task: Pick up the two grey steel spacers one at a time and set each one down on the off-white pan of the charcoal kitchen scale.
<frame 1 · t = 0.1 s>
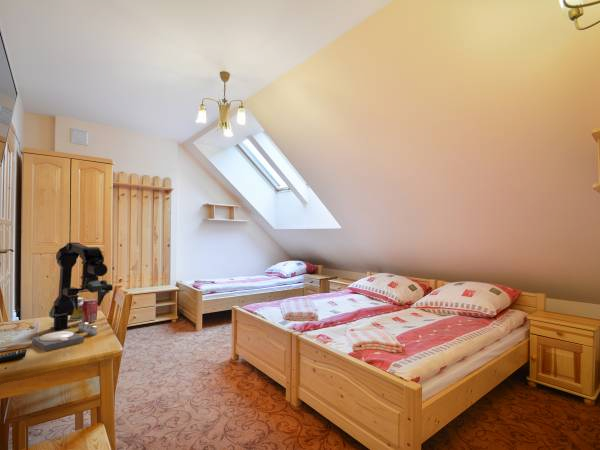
hand: (87, 308, 143), 15 cm above the table, tool pointing down, fingers open, 9 cm apart
pill bottle: (76, 319, 175), on the table
scale: (58, 342, 138), on the table
steel spacer 2: (91, 334, 150), on the table
steel spacer 1: (83, 331, 155), on the table
soda can: (89, 321, 171), on the table
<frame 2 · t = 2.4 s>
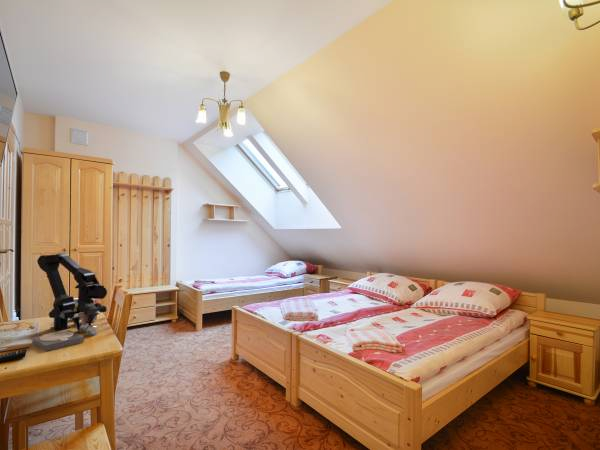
hand: (83, 328, 155), 1 cm above the table, tool pointing down, fingers closed on steel spacer 1, 4 cm apart
steel spacer 1: (83, 330, 155), on the table, touching gripper
everything else where it was.
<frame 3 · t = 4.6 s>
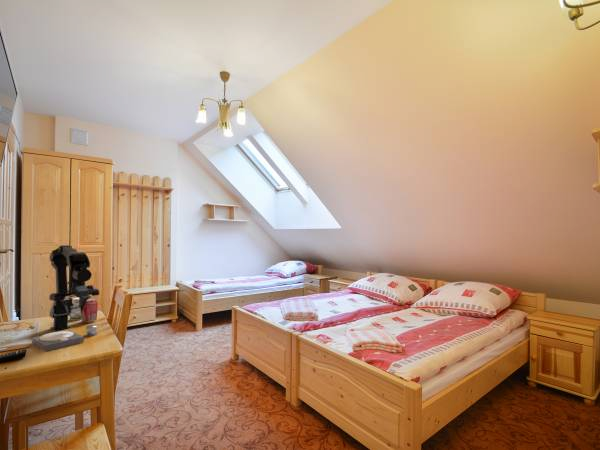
hand: (74, 312, 147), 11 cm above the table, tool pointing down, fingers closed on steel spacer 1, 4 cm apart
steel spacer 1: (74, 315, 147), point 10 cm above the table, touching gripper
everything else where it was.
when the fingers open (5 cm above the table, at t = 6.6 s): steel spacer 1 stays where it is, resting on scale.
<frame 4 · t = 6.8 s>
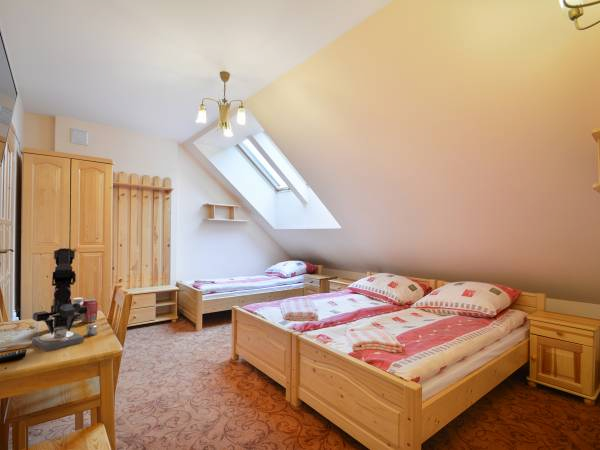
hand: (60, 332, 137), 5 cm above the table, tool pointing down, fingers open, 6 cm apart
steel spacer 1: (60, 336, 137), point 3 cm above the table, touching scale
everything else where it was.
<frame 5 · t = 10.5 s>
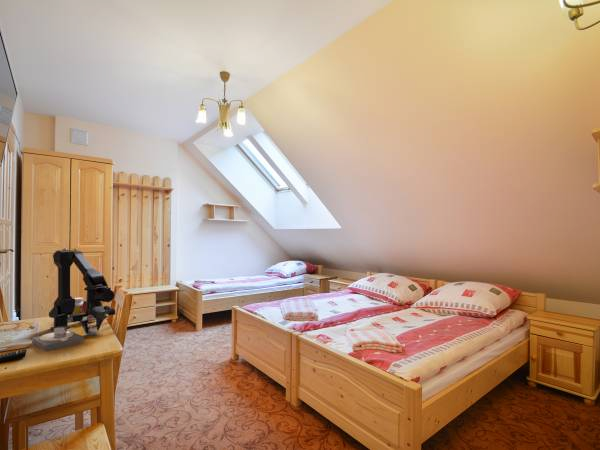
hand: (91, 332, 150), 1 cm above the table, tool pointing down, fingers closed on steel spacer 2, 4 cm apart
steel spacer 2: (91, 334, 150), on the table, touching gripper
everything else where it was.
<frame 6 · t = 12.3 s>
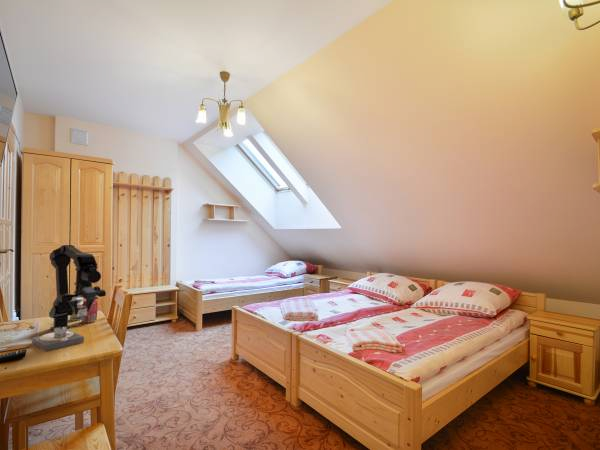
hand: (81, 313, 148), 11 cm above the table, tool pointing down, fingers closed on steel spacer 2, 4 cm apart
steel spacer 2: (81, 315, 148), point 10 cm above the table, touching gripper
everything else where it was.
when the fingers open (5 cm above the table, at t = 14.3 s): steel spacer 2 stays where it is, resting on scale.
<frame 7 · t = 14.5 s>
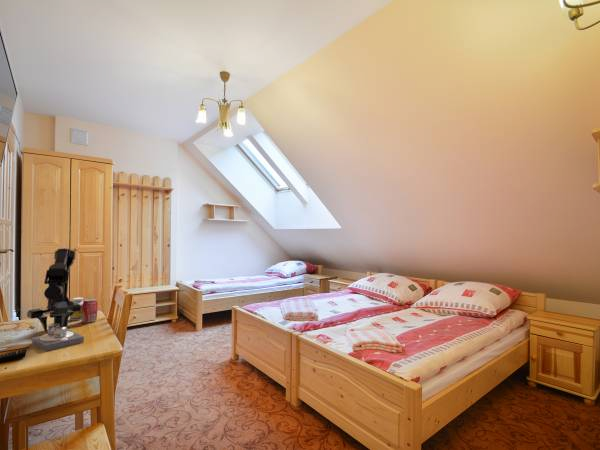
hand: (54, 329, 141), 5 cm above the table, tool pointing down, fingers open, 6 cm apart
steel spacer 2: (54, 333, 141), point 3 cm above the table, touching scale
everything else where it was.
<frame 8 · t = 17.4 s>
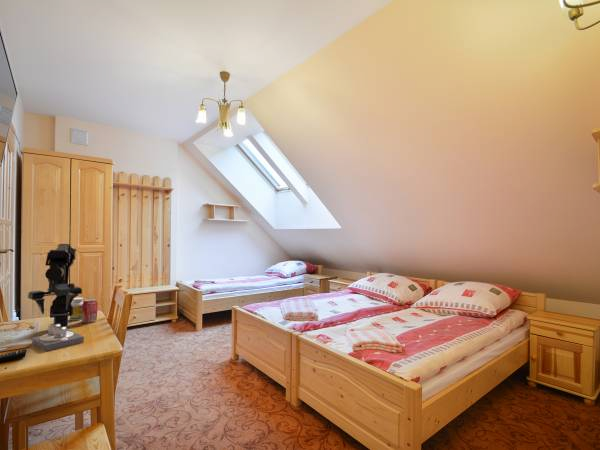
hand: (55, 311, 141), 13 cm above the table, tool pointing down, fingers open, 9 cm apart
nothing on the table moved.
at the end: steel spacer 1 inside the target area on the scale (3.3 cm from its centre), point 3.0 cm above the scale's base; steel spacer 2 inside the target area on the scale (3.3 cm from its centre), point 3.0 cm above the scale's base; the gripper is holding nothing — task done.
